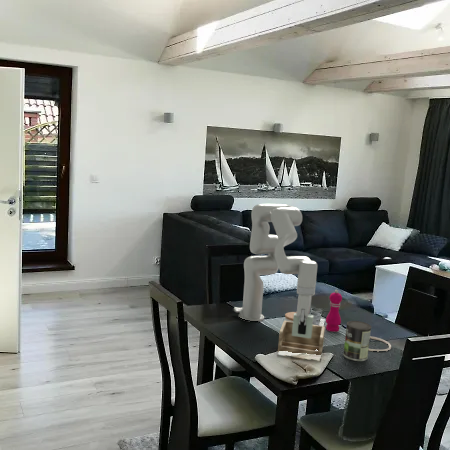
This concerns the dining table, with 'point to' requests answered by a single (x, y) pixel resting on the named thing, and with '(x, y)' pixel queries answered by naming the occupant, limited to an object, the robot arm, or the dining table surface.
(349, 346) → the coffee can
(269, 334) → the dining table surface
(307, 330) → the rectangular block
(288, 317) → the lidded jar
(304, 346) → the cabinet frame
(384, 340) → the hand towel holder
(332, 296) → the pepper mill
